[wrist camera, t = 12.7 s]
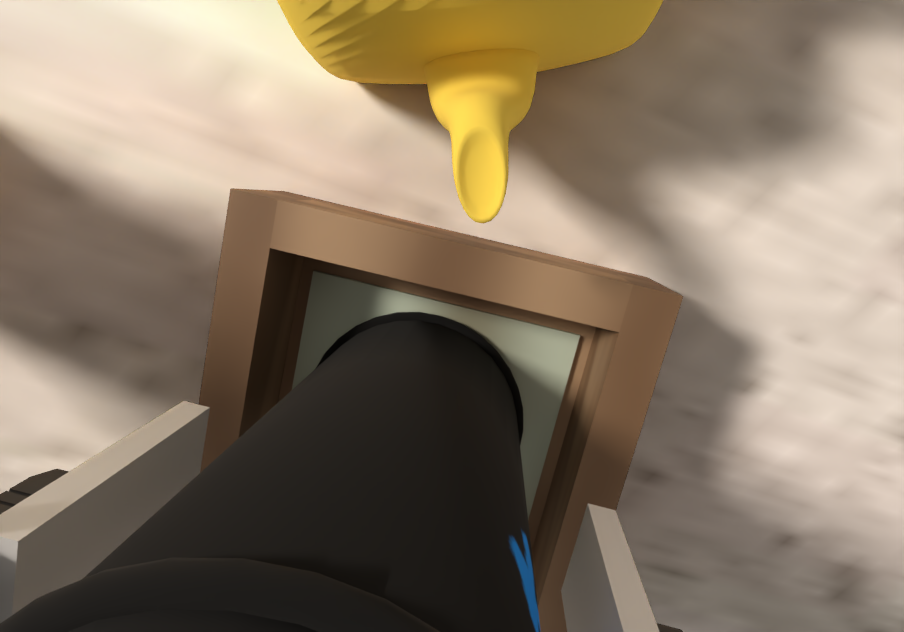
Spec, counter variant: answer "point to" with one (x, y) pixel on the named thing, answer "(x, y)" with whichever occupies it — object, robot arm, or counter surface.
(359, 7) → the teapot
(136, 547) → the aerosol can
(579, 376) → the u rest
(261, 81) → the counter surface
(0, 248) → the counter surface
